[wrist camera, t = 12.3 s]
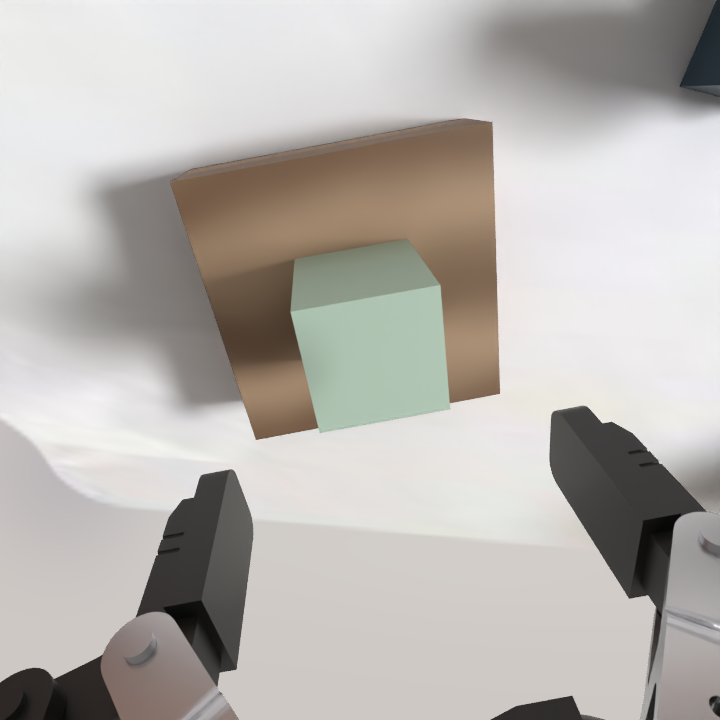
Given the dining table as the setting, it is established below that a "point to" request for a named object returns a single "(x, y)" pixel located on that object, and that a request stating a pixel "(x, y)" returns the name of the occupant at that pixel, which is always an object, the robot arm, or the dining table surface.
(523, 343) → the dining table surface
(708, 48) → the watch
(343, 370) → the block
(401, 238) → the plinth
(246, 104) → the dining table surface
